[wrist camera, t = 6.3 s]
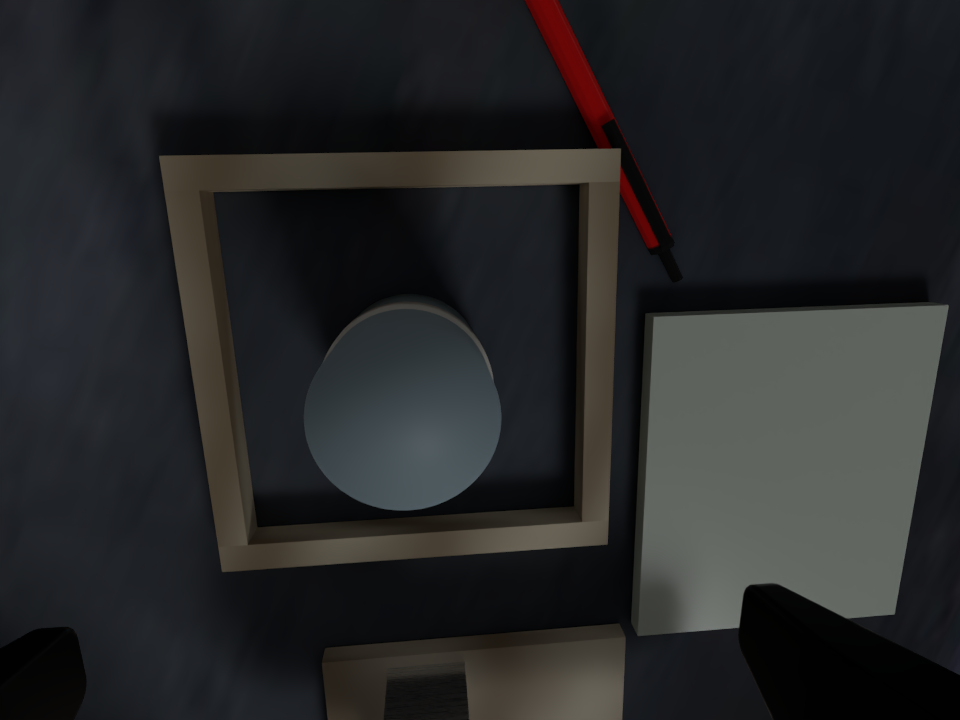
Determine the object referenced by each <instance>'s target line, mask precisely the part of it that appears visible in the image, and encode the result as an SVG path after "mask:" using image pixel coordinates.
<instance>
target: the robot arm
mask: <svg viewBox="0 0 960 720" xmlns="http://www.w3.org/2000/svg"><path fill="white" fill-rule="evenodd" d="M738 636H739V644H740V648H741V651H742V654H743V656H744V658H745V660H746V663H747V665H748V667H749V669H750V671H751V673H752V676H753V678H754V680H755V682H756V684H757V686H758V689H759V691H760V693H761V695H762V697H763V699H764V701H765V704H766V706H767V708H768V710H769V712H770V714H771V717H772V719H773V720H960V675H958V674H956V673H954V672H952V671H950V670H948V669H946V668H944V667H942V666H940V665H938V664H936V663H935V662H933V661H931V660H929V659H927V658H925V657H923V656H921V655H919V654H917V653H915V652H913V651H911V650H909V649H907V648H905V647H903V646H901V645H899V644H897V643H895V642H893V641H891V640H889V639H887V638H885V637H883V636H881V635H879V634H877V633H875V632H873V631H871V630H869V629H867V628H865V627H863V626H861V625H859V624H857V623H855V622H853V621H851V620H849V619H847V618H845V617H843V616H841V615H839V614H837V613H835V612H833V611H831V610H829V609H827V608H825V607H823V606H821V605H819V604H817V603H815V602H813V601H811V600H809V599H807V598H805V597H803V596H801V595H799V594H797V593H795V592H793V591H791V590H789V589H787V588H785V587H783V586H781V585H779V584H776V583H765V584H751V585H749V586H747V587H746V589H745V591H744V594H743V600H742V608H741V616H740V624H739V634H738ZM85 691H86V674H85V669H84V665H83V660H82V655H81V651H80V646H79V642H78V637H77V634H76V632H75V631H74V630H73V629H72V628H69V627H54V628H40V629H36V630H33V631H31V632H29V633H27V634H26V635H24V636H22V637H20V638H18V639H17V640H15V641H13V642H11V643H9V644H8V645H6V646H4V647H2V648H0V720H74V719H75V716H76V714H77V712H78V710H79V708H80V706H81V703H82V701H83V698H84V695H85Z"/></svg>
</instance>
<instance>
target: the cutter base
mask: <svg viewBox="0 0 960 720" xmlns="http://www.w3.org/2000/svg"><path fill="white" fill-rule="evenodd" d="M625 642H626V637H625V635H624V632H623V630H622V628H621V626H620V624H607V625H595V626H583V627H571V628H559V629H547V630H535V631H523V632H511V633H499V634H487V635H475V636H463V637H451V638H439V639H427V640H415V641H403V642H391V643H379V644H367V645H354V646H342V647H330V648H325V651H324V655H323V660H322V671H323V680H324V689H325V698H326V707H327V717H328V720H622V710H623V687H624V664H625Z"/></svg>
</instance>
